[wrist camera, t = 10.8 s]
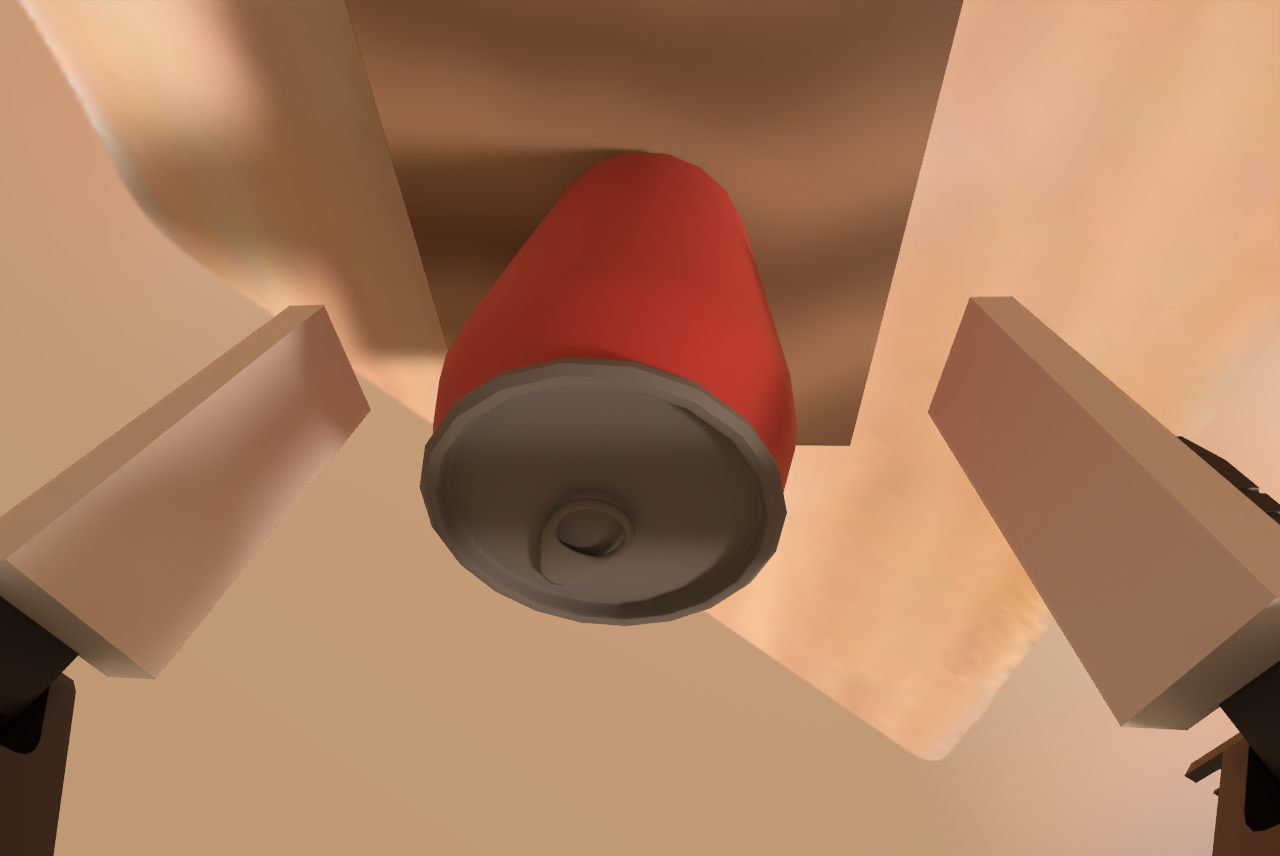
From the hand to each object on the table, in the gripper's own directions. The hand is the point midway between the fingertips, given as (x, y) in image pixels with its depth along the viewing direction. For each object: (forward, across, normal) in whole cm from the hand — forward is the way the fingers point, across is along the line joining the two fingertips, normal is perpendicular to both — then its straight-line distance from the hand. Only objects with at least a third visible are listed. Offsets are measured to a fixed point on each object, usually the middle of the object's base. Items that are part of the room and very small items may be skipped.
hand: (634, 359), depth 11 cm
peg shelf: (+15, 0, -1) cm, 15 cm away
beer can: (+8, 0, -1) cm, 8 cm away
